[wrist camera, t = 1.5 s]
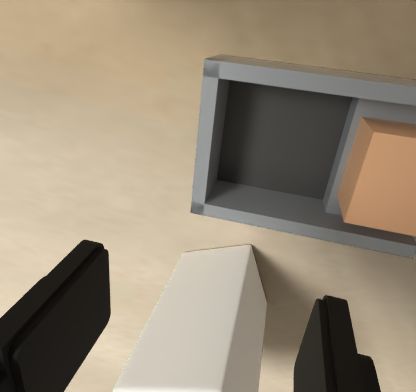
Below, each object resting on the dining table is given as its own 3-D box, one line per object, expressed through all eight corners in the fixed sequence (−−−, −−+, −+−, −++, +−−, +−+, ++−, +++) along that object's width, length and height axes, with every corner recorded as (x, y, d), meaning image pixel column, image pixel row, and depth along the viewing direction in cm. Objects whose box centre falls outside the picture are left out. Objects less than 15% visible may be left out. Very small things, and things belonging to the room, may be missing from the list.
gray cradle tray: (220, 54, 25) (204, 59, 21) (641, 108, 21) (731, 128, 17) (205, 186, 30) (190, 212, 26) (544, 251, 26) (595, 295, 22)
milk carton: (267, 302, 34) (242, 556, 18) (202, 306, 37) (125, 535, 20) (251, 243, 32) (204, 474, 15) (182, 251, 34) (74, 461, 17)
